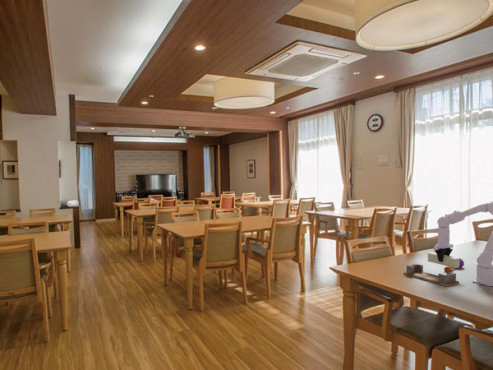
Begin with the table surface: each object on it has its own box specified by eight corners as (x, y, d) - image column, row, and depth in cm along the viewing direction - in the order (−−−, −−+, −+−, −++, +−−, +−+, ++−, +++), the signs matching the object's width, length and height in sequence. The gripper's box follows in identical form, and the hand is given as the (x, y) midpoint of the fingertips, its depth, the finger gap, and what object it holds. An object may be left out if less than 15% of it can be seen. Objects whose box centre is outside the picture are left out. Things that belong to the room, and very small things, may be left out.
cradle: (458, 283, 177) (459, 274, 177) (446, 286, 172) (446, 276, 172) (416, 271, 200) (416, 262, 199) (403, 274, 195) (403, 265, 194)
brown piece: (440, 264, 201) (454, 257, 214) (442, 274, 201) (456, 266, 213) (451, 264, 197) (464, 257, 209) (453, 275, 196) (466, 266, 208)
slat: (459, 267, 185) (459, 258, 185) (454, 268, 183) (455, 259, 183) (432, 260, 199) (432, 252, 199) (427, 261, 198) (427, 252, 197)
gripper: (444, 235, 198) (444, 258, 198) (428, 237, 191) (428, 260, 191) (456, 237, 191) (456, 260, 192) (440, 239, 185) (440, 263, 185)
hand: (443, 261), depth 191 cm, fingers closed on slat, 4 cm apart
